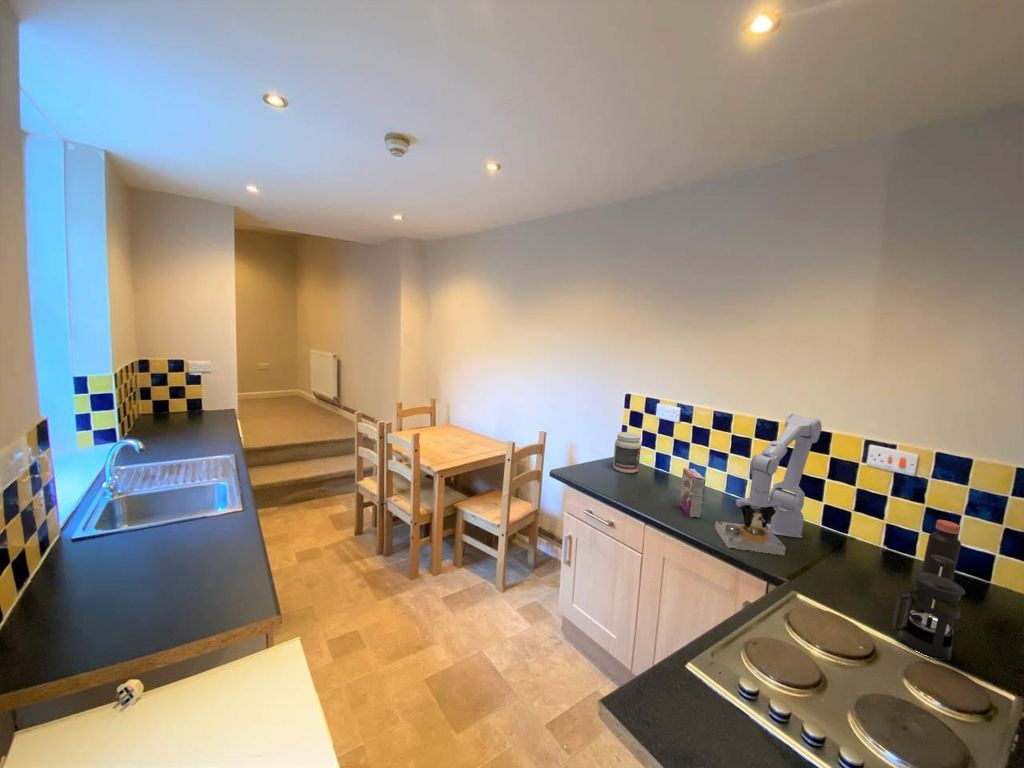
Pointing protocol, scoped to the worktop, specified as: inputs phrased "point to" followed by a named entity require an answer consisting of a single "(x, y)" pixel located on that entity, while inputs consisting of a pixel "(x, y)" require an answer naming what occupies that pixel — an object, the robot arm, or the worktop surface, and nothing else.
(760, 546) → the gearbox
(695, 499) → the candy bar box
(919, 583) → the french press
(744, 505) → the robot arm
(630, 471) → the supplement tub
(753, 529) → the tan piece
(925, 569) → the bottle
